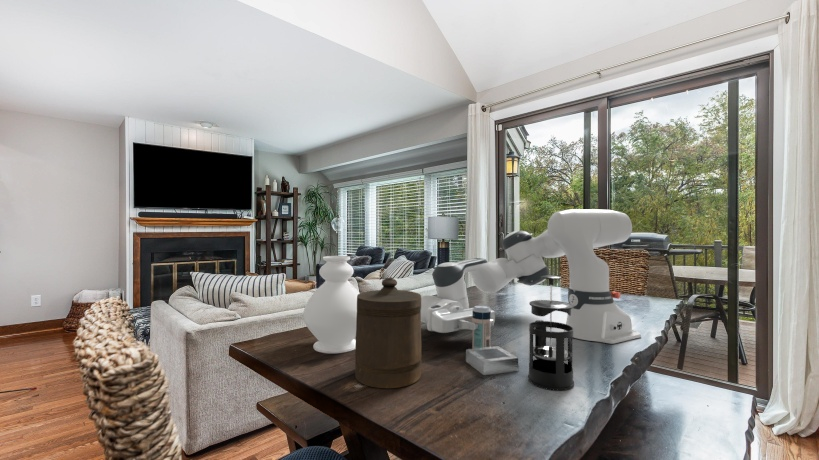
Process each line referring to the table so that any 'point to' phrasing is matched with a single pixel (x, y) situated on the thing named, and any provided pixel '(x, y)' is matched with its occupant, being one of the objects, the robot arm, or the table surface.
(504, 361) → the light grey square box
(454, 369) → the table surface
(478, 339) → the supplement bottle
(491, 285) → the robot arm
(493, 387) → the table surface
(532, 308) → the french press
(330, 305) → the decorative vase
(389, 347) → the wooden container
